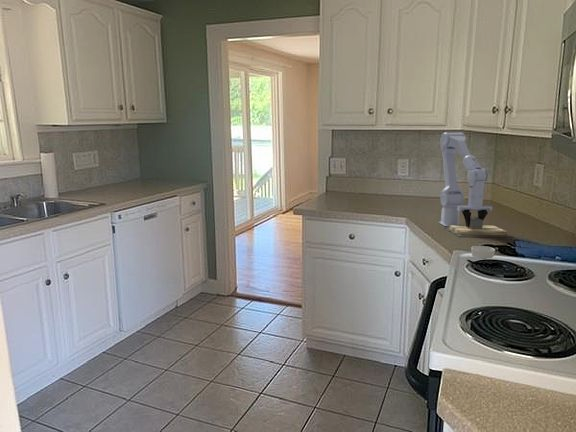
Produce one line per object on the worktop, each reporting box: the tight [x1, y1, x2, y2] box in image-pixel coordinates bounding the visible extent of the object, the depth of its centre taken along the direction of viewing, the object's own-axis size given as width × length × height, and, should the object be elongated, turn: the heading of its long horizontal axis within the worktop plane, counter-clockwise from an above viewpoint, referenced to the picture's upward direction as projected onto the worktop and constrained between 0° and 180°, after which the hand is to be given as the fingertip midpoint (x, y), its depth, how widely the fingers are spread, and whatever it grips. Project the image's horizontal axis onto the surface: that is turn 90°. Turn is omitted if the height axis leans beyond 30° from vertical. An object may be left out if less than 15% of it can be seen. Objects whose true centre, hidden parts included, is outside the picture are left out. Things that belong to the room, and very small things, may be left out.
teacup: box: [470, 245, 496, 259], centre depth 148 cm, size 10×10×5 cm
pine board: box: [443, 224, 514, 238], centre depth 193 cm, size 18×23×2 cm
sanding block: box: [464, 216, 484, 230], centre depth 193 cm, size 8×4×4 cm, turn 179°
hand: (473, 226), depth 193 cm, fingers closed on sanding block, 4 cm apart
